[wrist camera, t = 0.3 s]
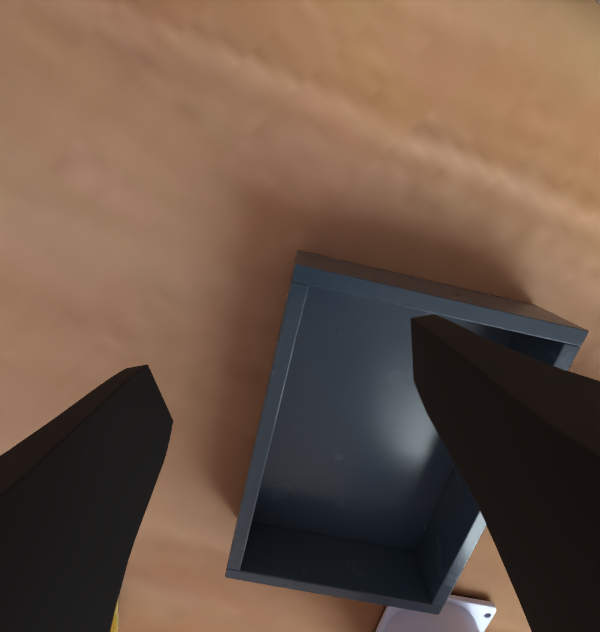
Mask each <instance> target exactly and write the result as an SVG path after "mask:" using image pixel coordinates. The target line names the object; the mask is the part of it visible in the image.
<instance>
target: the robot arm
mask: <svg viewBox="0 0 600 632" xmlns="http://www.w3.org/2000/svg"><path fill="white" fill-rule="evenodd" d="M411 338H412V358H413V379H414V383H415V385H416V388H417V391H418V393H419V396H420V398H421V401H422V403H423V405H424V408H425V410H426V413H427V414H428V416H429V418H430V420H431V422H432V424H433V425H434V427H435V429H436V431H437V433H438V434H439V436H440V438H441V440H442V442H443V443H444V445H445V447H446V449H447V450H448V452H449V454H450V456H451V457H452V459H453V461H454V463H455V465H456V466H457V468H458V470H459V472H460V473H461V475H462V477H463V479H464V480H465V482H466V484H467V486H468V488H469V489H470V491H471V493H472V495H473V497H474V499H475V501H476V503H477V505H478V507H479V509H480V511H481V514H482V516H483V518H484V520H485V523H486V525H487V527H488V529H489V532H490V534H491V536H492V538H493V541H494V543H495V545H496V547H497V550H498V552H499V554H500V557H501V559H502V561H503V564H504V566H505V568H506V571H507V573H508V575H509V578H510V580H511V582H512V585H513V587H514V590H515V592H516V594H517V597H518V599H519V601H520V604H521V606H522V609H523V611H524V614H525V616H526V618H527V621H528V623H529V626H530V628H531V631H532V632H600V381H597V380H594V379H591V378H588V377H585V376H582V375H578V374H575V373H572V372H569V371H566V370H563V369H560V368H558V367H555V366H552V365H549V364H547V363H544V362H542V361H539V360H537V359H534V358H532V357H529V356H526V355H524V354H521V353H519V352H517V351H514V350H512V349H510V348H507V347H505V346H503V345H500V344H498V343H496V342H494V341H492V340H489V339H487V338H485V337H483V336H481V335H479V334H476V333H474V332H472V331H470V330H468V329H466V328H464V327H462V326H460V325H458V324H456V323H453V322H451V321H449V320H447V319H445V318H443V317H440V316H438V315H435V314H431V315H425V316H420V317H414V318H411ZM172 424H173V419H172V417H171V415H170V413H169V410H168V408H167V406H166V404H165V402H164V399H163V397H162V395H161V393H160V391H159V388H158V386H157V384H156V382H155V380H154V377H153V375H152V373H151V371H150V369H149V366H148V365H142V366H137V367H131V368H126V369H124V370H123V371H121V372H119V373H117V374H116V375H114V376H113V377H111V378H110V379H108V380H107V381H105V382H104V383H103V384H101V385H100V386H98V387H97V388H96V389H94V390H93V391H91V392H90V393H89V394H87V395H86V396H85V397H83V398H82V399H80V400H79V401H78V402H76V403H75V404H74V405H72V406H71V407H70V408H68V409H67V410H65V411H64V412H63V413H61V414H60V415H59V416H57V417H56V418H55V419H53V420H52V421H50V422H49V423H47V424H46V425H45V426H43V427H42V428H40V429H39V430H37V431H36V432H34V433H33V434H32V435H30V436H29V437H27V438H26V439H24V440H23V441H22V442H20V443H19V444H17V445H16V446H14V447H13V448H11V449H10V450H8V451H7V452H5V453H4V454H2V455H1V456H0V632H110V630H111V626H112V621H113V617H114V613H115V609H116V605H117V601H118V597H119V593H120V589H121V586H122V582H123V578H124V574H125V571H126V567H127V563H128V559H129V556H130V553H131V550H132V547H133V544H134V541H135V538H136V535H137V533H138V530H139V527H140V524H141V522H142V519H143V516H144V514H145V511H146V508H147V506H148V503H149V500H150V498H151V495H152V492H153V490H154V487H155V484H156V481H157V479H158V476H159V473H160V470H161V467H162V465H163V462H164V459H165V456H166V452H167V448H168V444H169V440H170V434H171V429H172ZM495 612H496V607H495V605H494V603H492V602H489V601H484V600H478V599H473V598H467V597H462V596H456V595H451V594H450V595H449V597H448V599H447V601H446V603H445V605H444V606H443V608H442V610H441V612H440V614H439V615H436V614H430V613H424V612H419V611H413V610H407V609H402V608H396V607H390V606H387V607H386V609H385V611H384V614H383V616H382V618H381V620H380V622H379V625H378V627H377V629H376V631H375V632H484V631H485V629H486V627H487V626H488V624H489V622H490V621H491V619H492V617H493V616H494V614H495Z"/></svg>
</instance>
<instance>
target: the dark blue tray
mask: <svg viewBox="0 0 600 632" xmlns="http://www.w3.org/2000/svg"><path fill="white" fill-rule="evenodd" d="M431 314H435V315H438V316H440V317H443V318H445V319H447V320H449V321H451V322H453V323H456V324H458V325H460V326H462V327H464V328H466V329H468V330H470V331H472V332H474V333H476V334H479V335H481V336H483V337H485V338H487V339H489V340H492V341H494V342H496V343H498V344H500V345H503V346H505V347H507V348H510V349H512V350H514V351H517V352H519V353H521V354H524V355H526V356H529V357H532V358H534V359H537V360H539V361H542V362H544V363H547V364H549V365H552V366H555V367H558V368H560V369H563V370H566V371H568V369H569V368H570V366H571V364H572V362H573V360H574V358H575V356H576V354H577V352H578V351H579V349H580V347H579V346H581V345H582V343H583V341H584V339H585V338H586V336H587V334H588V330H586V329H583V328H581V327H579V326H577V325H575V324H573V323H571V322H569V321H567V320H565V319H563V318H561V317H559V316H557V315H555V314H553V313H550V312H548V311H546V310H544V309H542V308H540V307H538V306H536V305H533V304H529V303H525V302H520V301H516V300H512V299H508V298H503V297H499V296H495V295H490V294H486V293H482V292H477V291H473V290H469V289H464V288H460V287H456V286H451V285H447V284H443V283H438V282H434V281H430V280H425V279H421V278H417V277H413V276H408V275H404V274H400V273H395V272H391V271H387V270H382V269H378V268H374V267H369V266H365V265H361V264H356V263H352V262H348V261H343V260H339V259H335V258H331V257H326V256H322V255H318V254H313V253H309V252H305V251H300V250H298V251H297V254H296V259H295V263H294V268H293V272H292V276H291V281H290V285H289V290H288V294H287V299H286V303H285V308H284V312H283V317H282V321H281V326H280V330H279V334H278V339H277V343H276V348H275V352H274V357H273V361H272V366H271V370H270V375H269V379H268V384H267V388H266V392H265V397H264V401H263V406H262V410H261V415H260V419H259V424H258V428H257V433H256V437H255V442H254V446H253V450H252V455H251V459H250V464H249V468H248V473H247V477H246V482H245V486H244V491H243V495H242V500H241V504H240V508H239V513H238V517H237V522H236V527H235V531H234V536H233V541H232V545H231V550H230V555H229V559H228V564H227V569H226V574H225V577H227V578H232V579H238V580H244V581H249V582H255V583H260V584H266V585H272V586H277V587H283V588H289V589H294V590H300V591H306V592H311V593H317V594H323V595H328V596H334V597H340V598H345V599H351V600H357V601H362V602H368V603H373V604H379V605H385V606H390V607H396V608H402V609H407V610H413V611H419V612H424V613H430V614H436V615H439V614H440V612H441V610H442V608H443V606H444V605H445V603H446V601H447V599H448V597H449V595H450V593H451V591H452V589H453V588H454V586H455V584H456V582H457V580H458V578H459V576H460V574H461V572H462V570H463V569H464V567H465V565H466V563H467V561H468V559H469V557H470V555H471V553H472V552H473V550H474V548H475V546H476V544H477V542H478V540H479V538H480V536H481V534H482V533H483V531H484V529H485V527H486V523H485V520H484V518H483V516H482V514H481V511H480V509H479V507H478V505H477V503H476V501H475V499H474V497H473V495H472V493H471V491H470V489H469V488H468V486H467V484H466V482H465V480H464V479H463V477H462V475H461V473H460V472H459V470H458V468H457V466H456V465H455V463H454V461H453V459H452V457H451V456H450V454H449V452H448V450H447V449H446V447H445V445H444V443H443V442H442V440H441V438H440V436H439V434H438V433H437V431H436V429H435V427H434V425H433V424H432V422H431V420H430V418H429V416H428V414H427V413H426V410H425V408H424V405H423V403H422V401H421V398H420V396H419V393H418V391H417V388H416V385H415V383H414V379H413V358H412V338H411V318H414V317H420V316H425V315H431Z"/></svg>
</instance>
